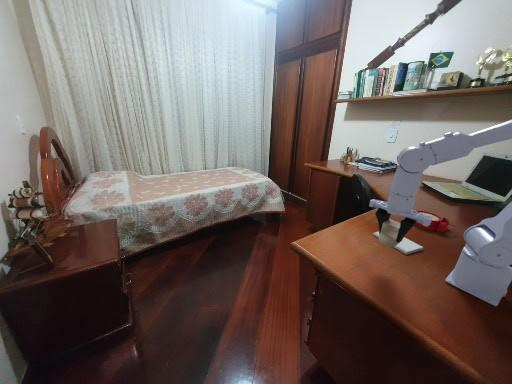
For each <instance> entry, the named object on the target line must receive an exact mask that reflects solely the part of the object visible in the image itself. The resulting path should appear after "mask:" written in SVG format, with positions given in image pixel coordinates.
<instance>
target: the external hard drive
mask: <svg viewBox="0 0 512 384" xmlns="http://www.w3.org/2000/svg"><path fill="white" fill-rule="evenodd" d="M372 235H373V236H375V237H376V238H378V239H379V236H380V234H379V231H376V232H373V233H372ZM393 248H394V249H395V250H397V251H399V252H401V253H403V254H405V255H410V254H413V253H416V252H420V251H423V250H424V246H422V245H421V244H419V243H416V242H414V241H412V240H410V239H409V238H406V237H405V236H404V238H403V240H402V241H401V242H400V243H399V244H398V245H396V246H395V247H393Z"/></svg>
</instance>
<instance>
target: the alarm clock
mask: <svg viewBox="0 0 512 384" xmlns="http://www.w3.org/2000/svg"><path fill="white" fill-rule="evenodd" d="M415 211H416V212H419V213H421V214H423V215H425V216H428V217H431V218H432V221H431V223H430V225H429V226H427V227H426V226H424V225H422V224H421V223H416V224H415V225H414V226H417V227H419V228H421V229H425V230H430V231H436V232H438V233H444V232H445V231H447V230H450V231H456V230H457V229H458V228H457V226H456V225H453V224H451V223H450V220H449V218H448V217H443V218H442V217H441V216H440V215H437V214H435V213H433V212H429V211H424V210H415ZM449 226H453V227H454V229H451V228H448V227H449Z"/></svg>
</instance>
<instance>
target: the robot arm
mask: <svg viewBox="0 0 512 384" xmlns="http://www.w3.org/2000/svg"><path fill="white" fill-rule="evenodd" d="M507 140H512V119H510V120H506V121H504V122H501V123H499V124H496V125H492V126H490V127H488V128H484V129H481V130H479V131H475V132H473V133H469V134H465V133H463V132H459V131H458V132H455V133H454V132H452V131H450V132H449V131H448V132H446V133H444V134H443V137H439V138H436V139H433V140H430V141H427V142H426V141H421V142H419V143H418V146H408V147H405V148H404V149H402V150H401V151H399V153H398V155H397V156H396V161H397V162H396V163H397V164H398V165H397V168H396V169H395V174H394V177H393V180H392V183H391V187H390V191H389V195H388V199H387V201H383V200H378V199H374V198H373V199H370V201H369V205H368V206H369V207H370V208H376V209H377V210H376V211H375V213H374V214H375V216H376V220H377V224H378V232H379V234H380V233H381V229H382V225H383V222H385V221H387V220H389V219H391V218H390V217H391V215H393V216H399V217H401V218H404V219H402V220H400V221H399V223H400V230H399V234H398V236H397V240H396V242H398V243H400V242H401V241H402V240H403V238H404V237H405V236H406V234H407V233H408V232H409V231H410V230H411V229H412V228H413V227H414V226H416V225H415V224H416V223H421V224H422V225H424V226H426V227H427V226H429V225H430V223H431V221H432V218H431V217H428V216H425V215H423V214H421V213H419V212H416V211H417V210H414V209H413V207H414V204H415V201H416V197H417V195H418V191H419V188H420V184H421V181H422V177H423V174H424V173H423V172H425V171H426V170H427V169H428V168H429V167H430V166H436V165H439V164H442V163H447V162H450V161H454V160H458V159H462V158H466V157H468V156H469V155H470V154H471V152H473V150H474V149H476V148H481V147H484V146H488V145H492V144H497V143H500V142H501V143H502V142H504V141H507ZM463 239H464V241H465V242H466V243H465V246H464V247H463V248H462V250H461V253H460V256H459V258H458V260H457V262H456V265H455V266H454V268H453V270H452V271H450V273H449V274H448V276H447V277H446V278H445V280H444V281H445V282H446V283H448V284H450V285H452V286H453V287H456V288H458V289H460V290H462V291H463V292H466V293H468V294H470V295H472V296H474V297H475V298H478V299H479V300H481V301H483V302H486V303H488V304H489V305H492V306H494V307H498V306H499V304H500V302H501V300H502V298H503V297H506V295H507V294H508V287H509V285H510V284H511V282H512V201H510V203H508V204H507V205H506V206H505V207H504V208H503V209H502V210H501V211H500V212H499V213H498V214H497V215H496V216H494V217H487V218H485V219H482V220H481V221H479V223H477V224H475V225H472V226H470V227H468V228H467V229H466V230H465V231H464V232H463Z"/></svg>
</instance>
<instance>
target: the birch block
mask: <svg viewBox="0 0 512 384" xmlns="http://www.w3.org/2000/svg"><path fill="white" fill-rule="evenodd" d="M399 230H400V221H397V220H393V219H391V218H389V220H387V221H385V222H383V225H382V229H381V233H380V236H379V238H378V241H379V242H380V243H383V244H385V245H387V246H389V247H390V248H394V247H395V246H396V245H398V244H399V243H398V242H396V240H397V236H398V234H399Z"/></svg>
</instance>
